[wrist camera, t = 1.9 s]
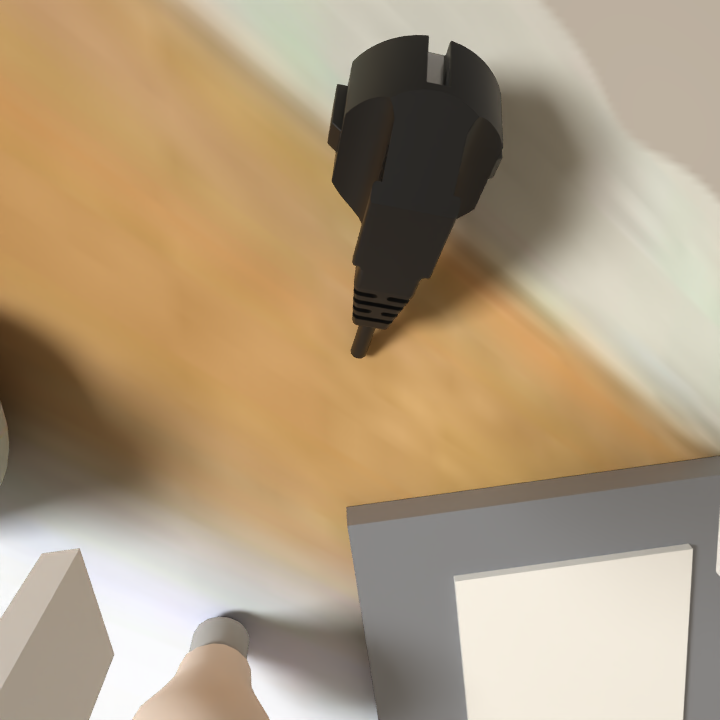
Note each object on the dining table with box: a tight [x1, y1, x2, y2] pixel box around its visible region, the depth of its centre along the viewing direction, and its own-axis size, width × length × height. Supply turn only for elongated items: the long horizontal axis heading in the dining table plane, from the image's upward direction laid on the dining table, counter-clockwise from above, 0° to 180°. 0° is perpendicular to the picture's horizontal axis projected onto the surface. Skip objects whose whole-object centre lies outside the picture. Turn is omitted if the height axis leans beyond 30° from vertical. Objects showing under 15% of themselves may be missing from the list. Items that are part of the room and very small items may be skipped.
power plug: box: [328, 35, 503, 358], centre depth 25 cm, size 6×8×12 cm
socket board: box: [347, 456, 720, 720], centre depth 34 cm, size 20×20×2 cm
